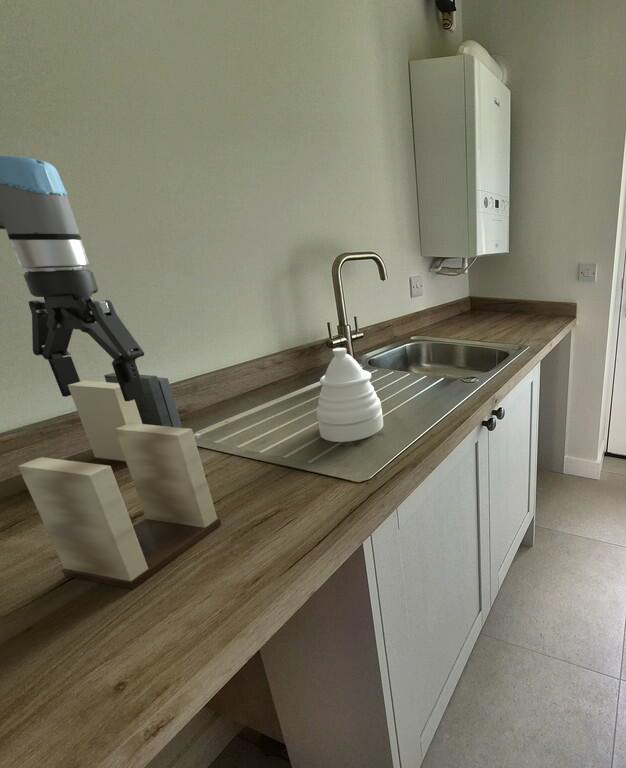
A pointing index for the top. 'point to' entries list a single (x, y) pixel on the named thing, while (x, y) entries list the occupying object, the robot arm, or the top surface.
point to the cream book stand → (108, 512)
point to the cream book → (103, 415)
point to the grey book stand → (154, 402)
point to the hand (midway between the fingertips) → (103, 396)
